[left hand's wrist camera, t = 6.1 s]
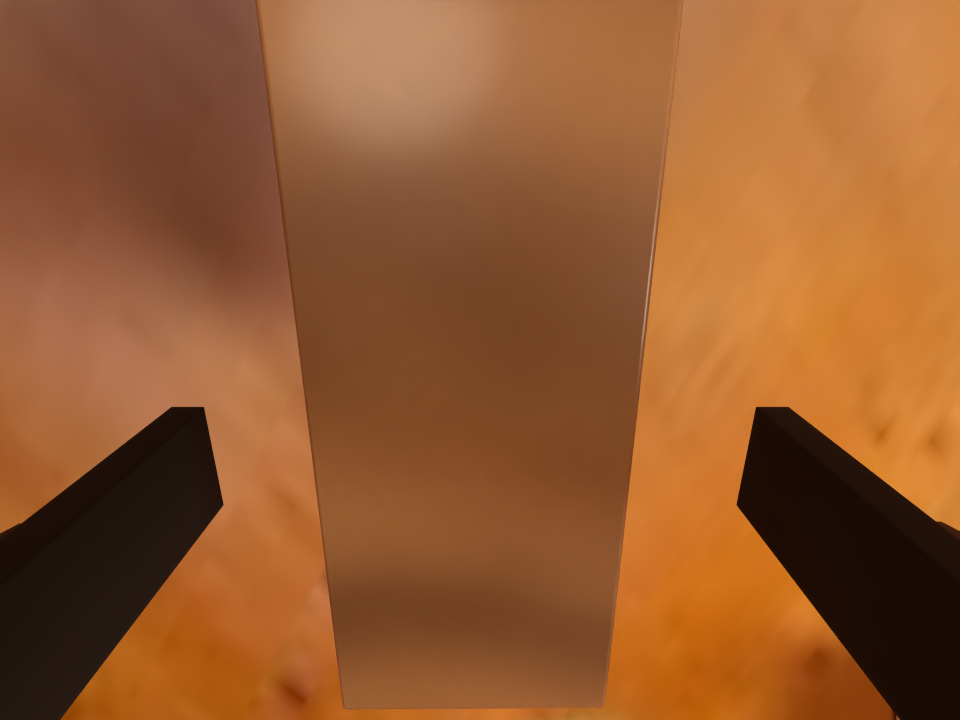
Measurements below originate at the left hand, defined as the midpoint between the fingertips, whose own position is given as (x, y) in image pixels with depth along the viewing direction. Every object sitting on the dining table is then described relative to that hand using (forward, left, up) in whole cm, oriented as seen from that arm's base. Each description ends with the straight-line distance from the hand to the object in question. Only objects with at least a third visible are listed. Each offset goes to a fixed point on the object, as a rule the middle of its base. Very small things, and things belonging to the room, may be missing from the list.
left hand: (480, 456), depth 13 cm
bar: (+10, 0, -6) cm, 12 cm away
